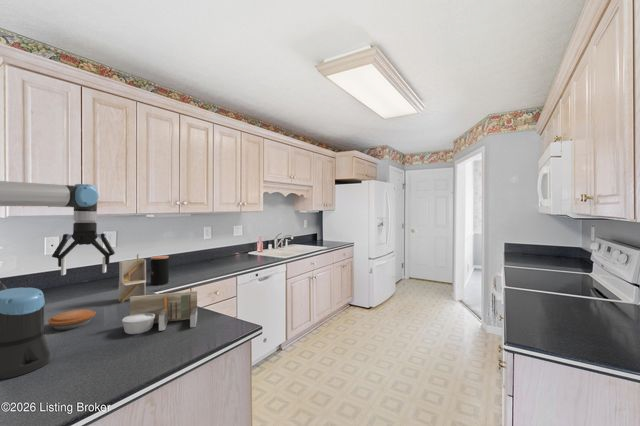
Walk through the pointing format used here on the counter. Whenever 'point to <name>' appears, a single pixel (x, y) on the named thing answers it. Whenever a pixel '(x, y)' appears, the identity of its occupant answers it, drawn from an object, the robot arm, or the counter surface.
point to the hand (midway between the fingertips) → (84, 273)
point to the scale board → (176, 305)
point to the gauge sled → (163, 316)
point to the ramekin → (138, 323)
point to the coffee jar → (159, 270)
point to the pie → (71, 319)
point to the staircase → (132, 278)
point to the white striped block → (193, 317)
